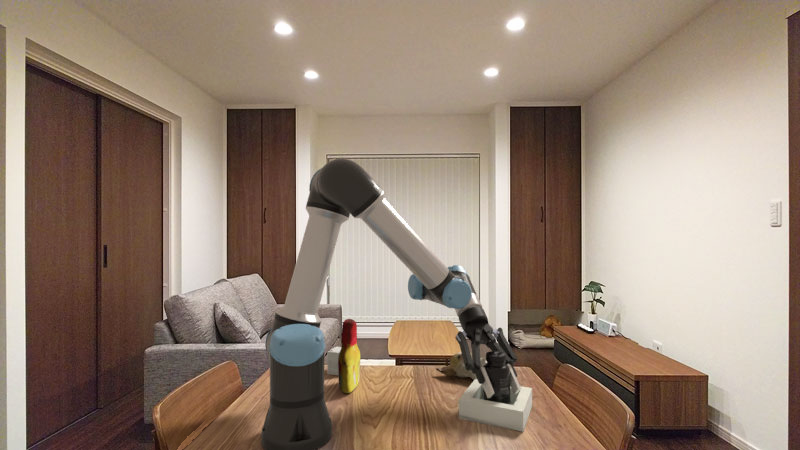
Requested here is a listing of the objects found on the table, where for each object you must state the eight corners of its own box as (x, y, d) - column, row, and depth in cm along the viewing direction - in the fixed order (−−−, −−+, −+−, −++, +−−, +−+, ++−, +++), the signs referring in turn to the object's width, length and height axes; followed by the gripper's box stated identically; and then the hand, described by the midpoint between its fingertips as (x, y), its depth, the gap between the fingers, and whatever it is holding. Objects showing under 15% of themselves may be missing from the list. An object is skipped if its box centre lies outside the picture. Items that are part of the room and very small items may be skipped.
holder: (458, 418, 94) (458, 399, 95) (475, 395, 108) (475, 379, 108) (523, 431, 88) (523, 411, 88) (532, 405, 101) (531, 388, 101)
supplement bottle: (507, 397, 101) (507, 350, 101) (512, 408, 94) (512, 358, 95) (480, 395, 102) (480, 349, 102) (483, 407, 95) (483, 357, 95)
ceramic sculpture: (476, 356, 114) (433, 350, 123) (478, 387, 113) (435, 378, 123) (492, 348, 122) (451, 343, 132) (494, 377, 122) (452, 370, 131)
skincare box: (352, 370, 129) (352, 347, 129) (343, 376, 123) (343, 353, 123) (336, 368, 131) (336, 346, 131) (326, 374, 125) (326, 351, 125)
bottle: (356, 397, 107) (356, 323, 108) (333, 396, 108) (333, 323, 108) (362, 380, 119) (362, 314, 120) (342, 380, 120) (342, 314, 120)
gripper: (495, 318, 116) (531, 394, 100) (434, 323, 110) (463, 406, 94) (505, 303, 111) (545, 381, 95) (442, 307, 105) (474, 392, 89)
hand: (504, 393), depth 95 cm, fingers closed on supplement bottle, 7 cm apart
